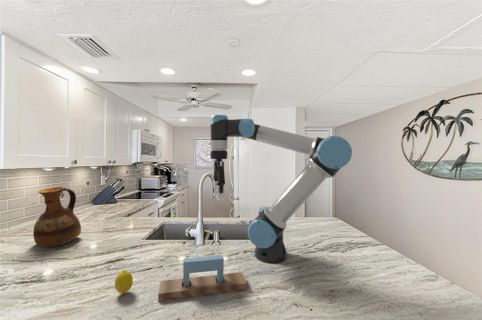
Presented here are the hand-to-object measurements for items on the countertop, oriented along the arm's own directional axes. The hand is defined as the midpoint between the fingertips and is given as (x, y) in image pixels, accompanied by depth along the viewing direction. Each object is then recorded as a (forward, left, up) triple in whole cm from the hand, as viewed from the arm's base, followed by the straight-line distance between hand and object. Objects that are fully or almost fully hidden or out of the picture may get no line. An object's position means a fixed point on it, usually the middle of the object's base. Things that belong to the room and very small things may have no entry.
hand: (218, 197), depth 106 cm
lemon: (+35, +18, -29) cm, 49 cm away
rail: (+8, +21, -29) cm, 36 cm away
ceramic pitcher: (+81, -39, -29) cm, 94 cm away
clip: (+8, +21, -29) cm, 36 cm away
